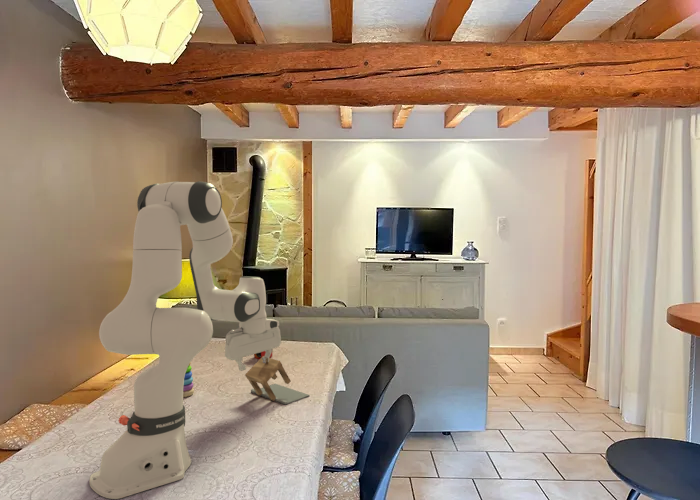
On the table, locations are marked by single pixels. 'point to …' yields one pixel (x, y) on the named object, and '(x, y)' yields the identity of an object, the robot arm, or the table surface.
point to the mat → (283, 394)
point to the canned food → (261, 355)
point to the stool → (266, 375)
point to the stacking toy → (188, 383)
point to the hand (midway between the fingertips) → (254, 366)
